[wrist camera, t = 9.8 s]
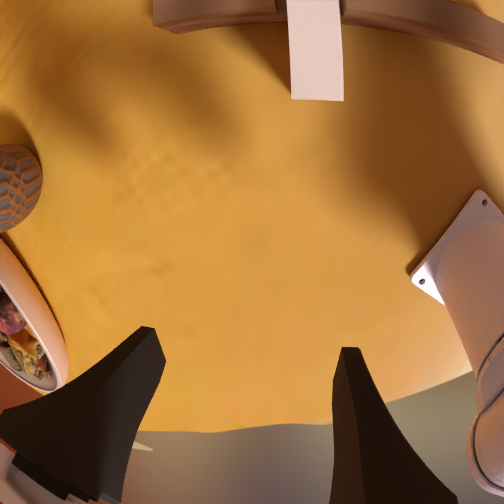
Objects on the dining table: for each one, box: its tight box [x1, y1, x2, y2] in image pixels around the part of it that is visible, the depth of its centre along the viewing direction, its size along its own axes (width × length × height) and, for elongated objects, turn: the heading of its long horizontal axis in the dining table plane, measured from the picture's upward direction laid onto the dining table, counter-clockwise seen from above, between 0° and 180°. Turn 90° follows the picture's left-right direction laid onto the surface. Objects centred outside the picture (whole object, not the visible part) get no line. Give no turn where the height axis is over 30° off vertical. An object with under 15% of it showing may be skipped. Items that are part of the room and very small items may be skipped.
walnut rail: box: [153, 0, 504, 64], centre depth 10 cm, size 20×2×3 cm, turn 93°
